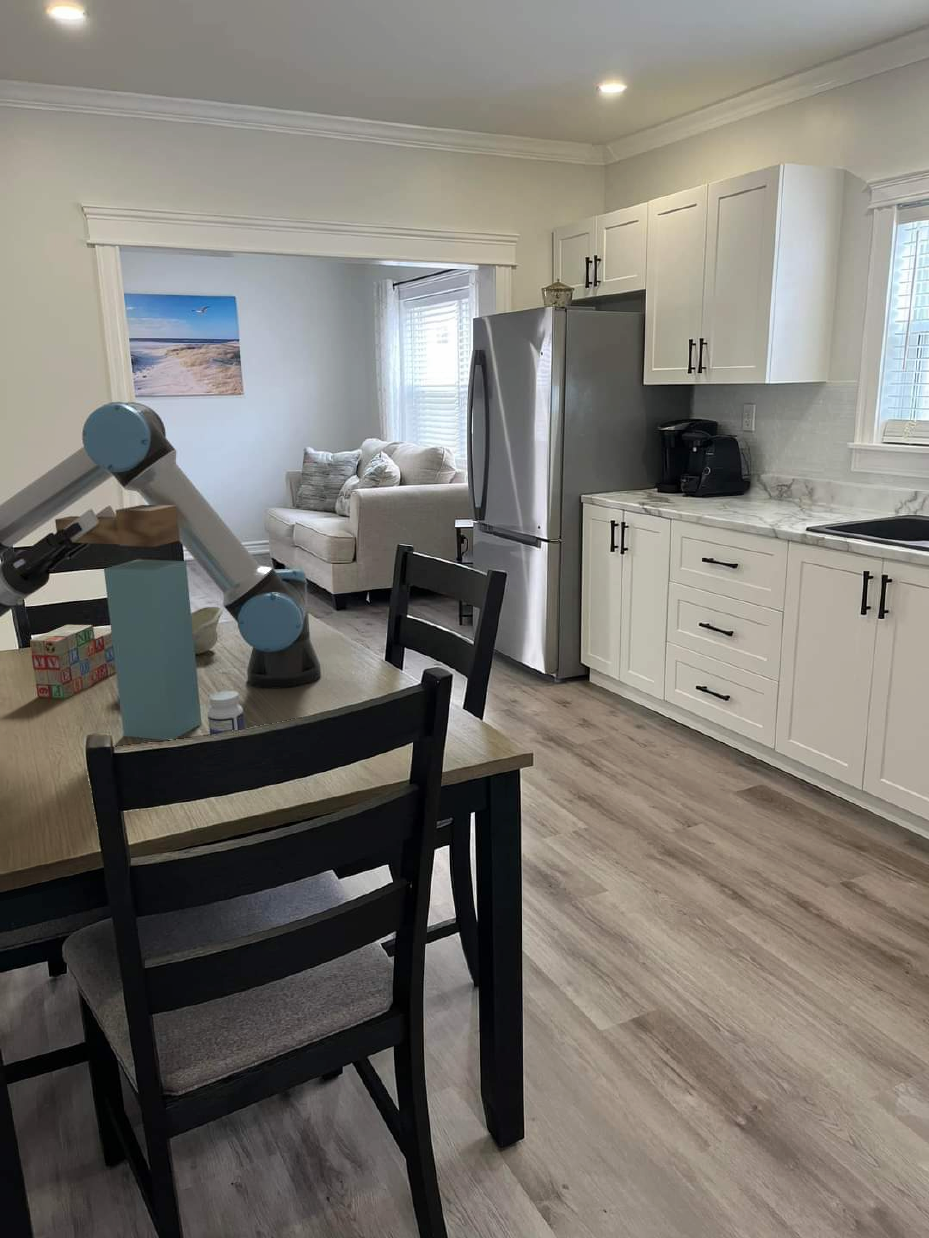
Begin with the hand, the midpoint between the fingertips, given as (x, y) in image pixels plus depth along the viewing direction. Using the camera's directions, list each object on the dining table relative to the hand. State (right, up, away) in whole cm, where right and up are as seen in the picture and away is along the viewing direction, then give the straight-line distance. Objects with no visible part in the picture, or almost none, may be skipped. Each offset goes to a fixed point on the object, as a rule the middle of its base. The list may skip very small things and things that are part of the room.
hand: (103, 514), depth 160 cm
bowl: (-1, -26, +57) cm, 63 cm away
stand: (+8, -38, +7) cm, 39 cm away
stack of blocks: (-19, -32, +36) cm, 52 cm away
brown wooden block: (+2, -5, +1) cm, 5 cm away
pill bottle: (+23, -40, -4) cm, 46 cm away
